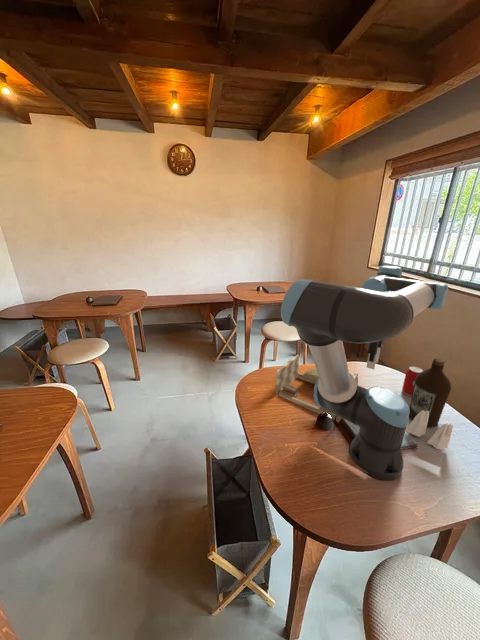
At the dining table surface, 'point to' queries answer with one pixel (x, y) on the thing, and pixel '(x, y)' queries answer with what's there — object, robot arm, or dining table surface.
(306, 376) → the decorative tile
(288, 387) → the offcut stack
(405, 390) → the beverage can
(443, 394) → the olive oil
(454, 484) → the dining table surface
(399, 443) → the robot arm
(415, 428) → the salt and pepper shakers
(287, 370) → the rack
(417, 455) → the dining table surface
